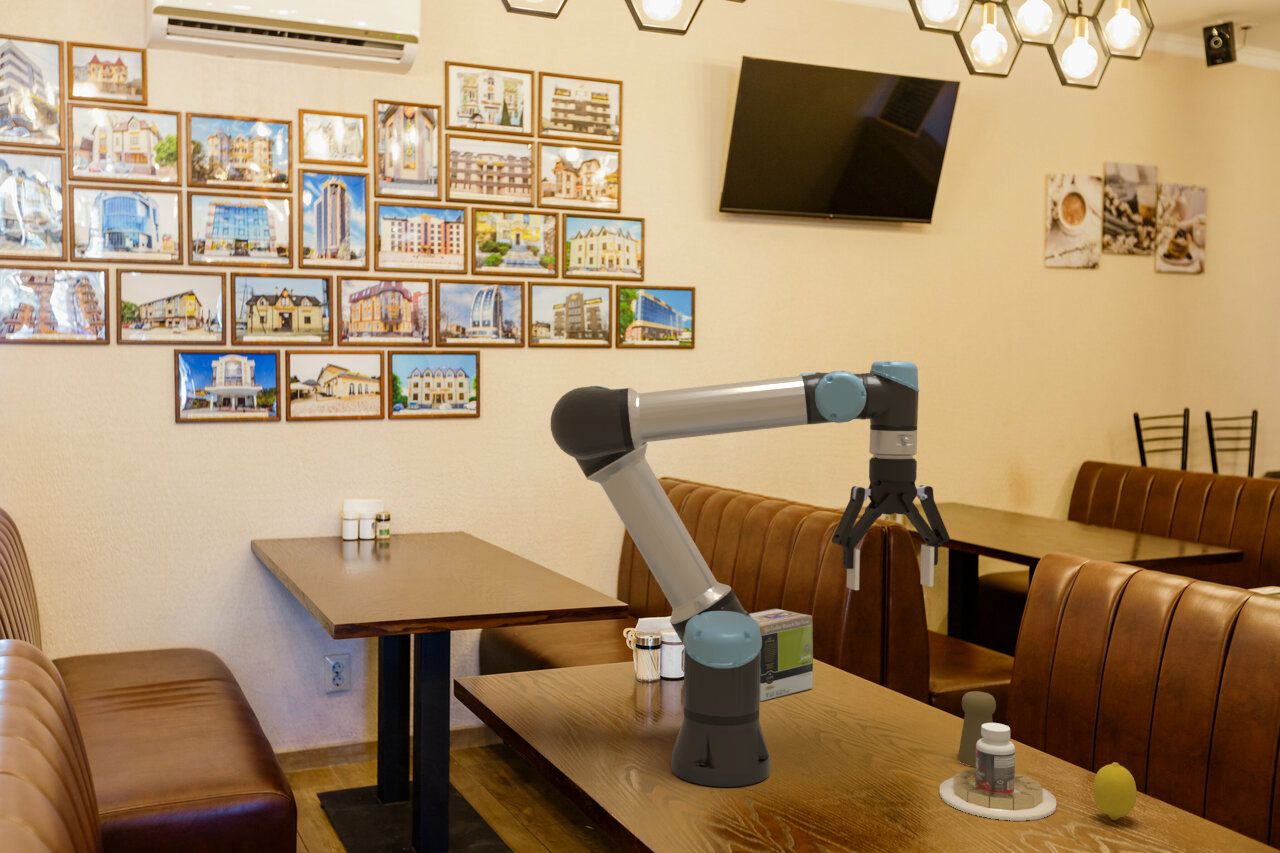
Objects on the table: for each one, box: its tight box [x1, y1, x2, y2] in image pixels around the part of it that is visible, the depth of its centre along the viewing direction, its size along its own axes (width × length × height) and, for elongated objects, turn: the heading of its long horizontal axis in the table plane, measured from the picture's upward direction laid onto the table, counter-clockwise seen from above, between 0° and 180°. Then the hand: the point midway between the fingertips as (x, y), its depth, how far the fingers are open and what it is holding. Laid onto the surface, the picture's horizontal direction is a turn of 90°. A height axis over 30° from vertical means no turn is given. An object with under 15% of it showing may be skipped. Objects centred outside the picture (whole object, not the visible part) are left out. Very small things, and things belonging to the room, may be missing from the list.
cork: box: [957, 690, 997, 767], centre depth 176 cm, size 6×6×11 cm
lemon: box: [1092, 761, 1138, 821], centre depth 153 cm, size 6×6×8 cm
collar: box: [952, 768, 1043, 810], centre depth 160 cm, size 12×12×2 cm
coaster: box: [939, 777, 1057, 822], centre depth 160 cm, size 16×16×1 cm
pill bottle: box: [975, 722, 1016, 793], centre depth 160 cm, size 5×5×10 cm
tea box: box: [748, 608, 814, 702], centre depth 217 cm, size 15×10×15 cm, turn 130°
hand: (890, 587), depth 181 cm, fingers open, 13 cm apart
